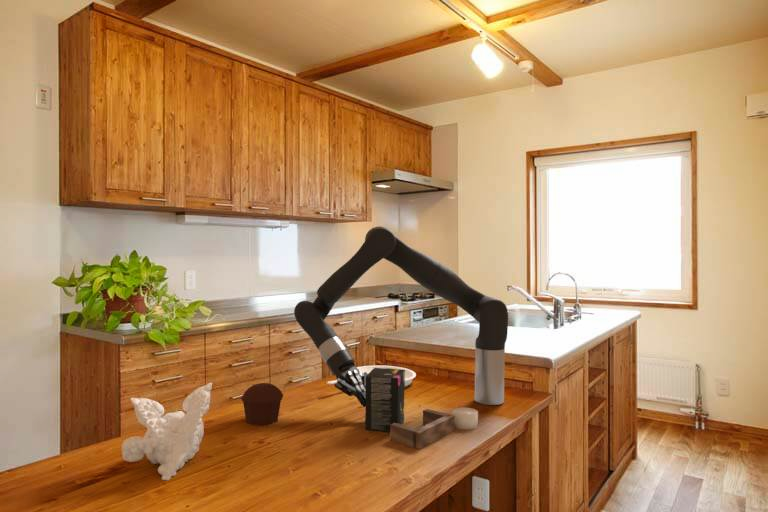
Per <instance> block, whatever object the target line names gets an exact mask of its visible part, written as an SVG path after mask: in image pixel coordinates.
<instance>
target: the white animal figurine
mask: <svg viewBox="0 0 768 512" xmlns="http://www.w3.org/2000/svg"><path fill="white" fill-rule="evenodd" d="M212 386H213V382H208V383H207V384H205V385H202V386H200V387H197V388H196V389H193V391H192V392H191V393H189V395H187V396H186V397H185V399H184V400H183V403H182V409H183V411H182V410H177V411H175V412H167V413H166V414H165V408H164V406H163V405H162V403H159V402H158V401H156V400H153V399H150V398H146V397H145V398H144V397H140V398H138V397H131V398H130V399H129V400H130V402H131V404H132V405H133V408H134V413H135V416H136V418H137V422H138V423H139V424H140V425H142V426H144V427H145V428H146V432H145V434H144V436H143V437H142V436H138V435H136V436H135V435H134V436H130V437H129V438H126V439H125V440H123V441H122V444H121V455H122V460H124V461H126V462H129V463H133V462H139V461H140V460H141V459H143V458H144V457H145V456H146V458H147V460H148V461H150V463H151V464H154V465H157V464H159V465H160V466H158V468H157V472H158V474H160V475H161V480H162V481H170V480H171V479H172V477H174V476H176V475H177V471H178V470H180V469H182V468H183V466H184V465H185V464H186V463H187V462H189V460H192V459H193V458H194V457H195V455H196V454H197V453H198V452H199V451H200V445H201V443H202V441H203V439H202V438H203V437H204V434H205V432H204V429H205V428H204V427H205V426H204V423H203V419H202V418H203V416H204V415H206V414H207V412H208V411H209V410H210V404H211V403H210V402H211V391H212V388H213V387H212ZM185 412H186V413H185ZM162 416H163V417H162Z"/></svg>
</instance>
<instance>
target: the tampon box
mask: <svg viewBox="0 0 768 512" xmlns="http://www.w3.org/2000/svg"><path fill="white" fill-rule="evenodd" d="M405 388H406V387H405V370H400V369H388V368H386V369H383V368H374V369H373V370H372V371H371V372H370V373H368V374H367V375H366V390H365V392H366V407H365V416H364V417H365V423H364V424H365V426H364V429H365V430H367V431H378V432H379V431H380V432H388V433H390V425H391V424H393V423H398V424H402V425H404V423H405Z"/></svg>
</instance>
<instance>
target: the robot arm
mask: <svg viewBox="0 0 768 512" xmlns="http://www.w3.org/2000/svg"><path fill="white" fill-rule="evenodd" d="M382 259H383V260H386V261H388V262H390V263H392V264H393V265H395V266H397V267H398V268H399V269H401V270H402V271H403V272H405V274H407V276H409V277H410V278H411V279H413V280H414V281H415V282H416V283H417V284H418V285H421V286H422V287H423V288H425V289H426V290H428V291H430V292H431V293H433V294H434V295H436V296H438V297H440V298H442V299H444V300H445V301H448V302H450V303H452V304H455V305H456V306H458V307H459V308H461V309H462V310H463V311H465V312H466V313H467V314H468V315H470V316H471V317H472V318H473V319H474V320H476V321H477V322H478V323H479V325H478V326H479V327H478V335H477V337H476V338H475V342H474V343H475V347H474V351H475V353H474V354H475V355H474V357H475V358H474V362H475V363H474V401H475V403H478V404H480V405H485V406H499V405H502V404H504V403H505V354H506V351H505V349H506V341H507V339H508V328H509V327H508V326H509V311H508V307H507V305H506V304H505V303H504V302H503V301H502V300H501V299H498V298H494V297H492V296H489V295H486V294H484V293H482V292H480V291H478V290H476V289H474V288H473V287H471V286H470V285H468V284H467V283H466V282H465V281H464V280H463V279H462V278H461V277H460V276H459V275H458V274H456V273H455V272H454V271H453V270H452V269H450V268H449V267H447V266H446V265H444V264H443V263H441V262H440V261H438V260H437V259H435V258H432V257H431V256H428V255H427V254H425V253H423V252H420V251H418V250H417V249H415V248H412V247H411V246H409V245H408V244H406V243H405V242H403V241H402V240H401V239H400V238H399V237H397V236H396V235H395V234H394V233H393V232H392V231H391V230H390V229H389V228H386V226H385V227H384V226H373V227H372V228H370V229H369V230H368V231H367V232H366V234H365V237H364V242H363V244H362V245H361V246H360V248H359V249H358V250H357V251H356V253H355V254H354V255H352V257H351V258H350V259H349V260H347V261H346V262H345V263H344V264H343V265H342V266H341V267H339V268H338V269H337V270H335V272H333V273H332V274H331V275H330V276H329V277H328V278H327V279H326V280H325V281H324V283H322V284H321V285H320V286H319V287H318V288H317V291H316V295H317V297H316V298H315V300H314V301H313V302H312V301H309V300H302V301H300V302H297V304H296V305H295V307H294V309H293V311H294V313H293V314H294V315H293V316H294V318H295V320H296V322H297V324H298V325H299V326H300V327H301V328H302V330H303V331H304V332H305V333H306V334H307V336H309V338H311V340H312V343H314V345H315V346H316V347H315V348H316V349H317V351H318V352H319V354H320V357H321V358H322V360H323V362H324V364H325V365H326V366H327V368H328V370H329V371H330V373H331V375H333V376H334V377H335V378H336V380H337V382H336V383H335V384H334V387H335V388H336V389H337V390H339V391H340V392H342V393H344V394H346V395H347V396H349V397H355V398H356V399H357V401H359V404H360V405H361V406H362V407H363V408H366V375H367V372H364V373H361V372H359V369H358V368H356V364H355V359H354V357H353V356H352V355H351V353H350V351H349V349H347V347H346V345H345V344H344V343H343V341H342V340H341V339H340V337H339V336H338V335H337V333H336V332H335V330H334V328H333V327H332V326H331V325H330V324H329V323H327V322H326V321H325V319H327V317H328V315H329V314H330V312H331V311H332V309H333V307H334V306H335V304H337V302H338V301H340V300H341V298H342V297H343V296H344V295H345V294H346V293H347V292H348V291H349V290H350V289H351V288H352V287H353V286H354V285H355V283H357V281H358V280H359V279H361V277H362V276H363V275H365V274H366V272H368V271H369V270H370V269H371V268H373V267H374V266H375V265H376V264H377V263H379V262H380V261H381V260H382Z"/></svg>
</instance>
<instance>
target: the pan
mask: <svg viewBox="0 0 768 512" xmlns="http://www.w3.org/2000/svg"><path fill="white" fill-rule="evenodd" d="M355 367H356V366H355ZM356 368H358V369H359V372H361V373H364V372H367V374H368V373H370V372H371V371H372V370H373V369H374V368H383V369H386V368H388V369H400V370H405V388H407V387H408V385H409V386H410V385H411V384H412V382H413V379H414V378H416V376H417V373H416V372H415V371H413V370H411V369H410V368H409V369H408V368H405V367H402V366H401V367H400V366H393V365H364V366H357V367H356ZM336 382H337V379H335V380H329V381H326V384H327V385H333V384H334V385H335V383H336Z"/></svg>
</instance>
